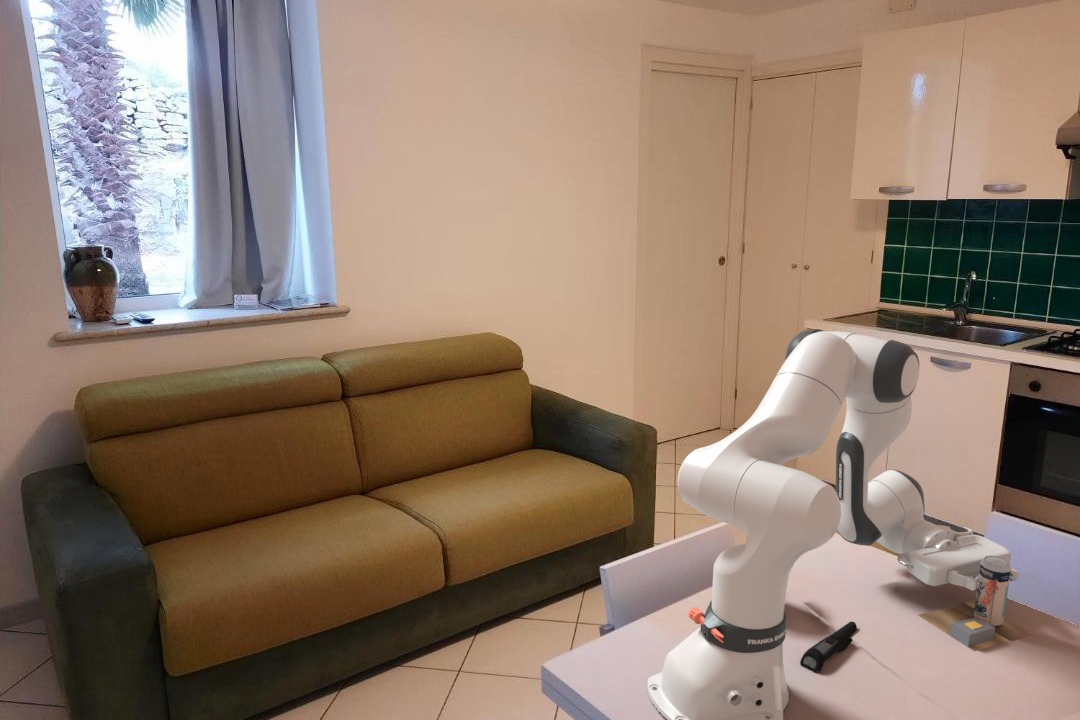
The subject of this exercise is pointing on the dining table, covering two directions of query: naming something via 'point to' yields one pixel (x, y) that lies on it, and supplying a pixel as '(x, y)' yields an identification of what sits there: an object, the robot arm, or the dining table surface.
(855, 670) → the dining table surface
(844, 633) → the electric trimmer
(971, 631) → the grey box with label
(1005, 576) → the beer can
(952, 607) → the subfloor panel
